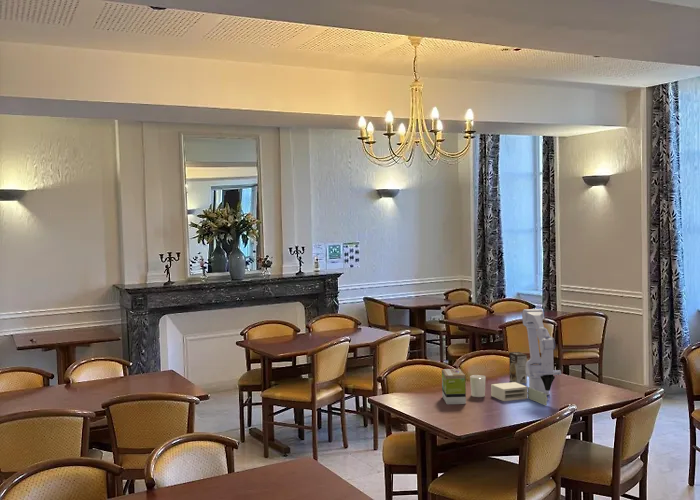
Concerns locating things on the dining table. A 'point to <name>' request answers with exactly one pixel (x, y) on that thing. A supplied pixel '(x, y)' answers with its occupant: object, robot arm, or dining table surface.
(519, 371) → the coffee box
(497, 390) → the cabinet
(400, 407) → the dining table surface
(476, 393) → the white cup
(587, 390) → the dining table surface
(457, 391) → the tea box
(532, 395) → the door
